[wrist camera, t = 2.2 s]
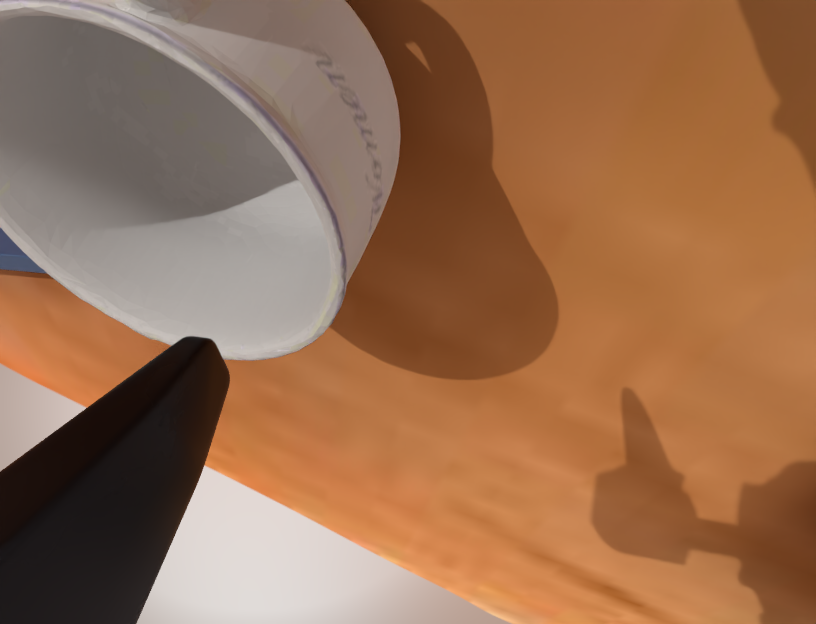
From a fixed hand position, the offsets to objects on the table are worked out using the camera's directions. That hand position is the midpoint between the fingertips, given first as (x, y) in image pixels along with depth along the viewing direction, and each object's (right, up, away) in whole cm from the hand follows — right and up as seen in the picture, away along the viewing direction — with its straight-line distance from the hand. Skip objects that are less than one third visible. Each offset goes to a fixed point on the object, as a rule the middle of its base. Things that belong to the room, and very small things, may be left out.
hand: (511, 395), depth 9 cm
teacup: (-5, +10, +12) cm, 16 cm away
